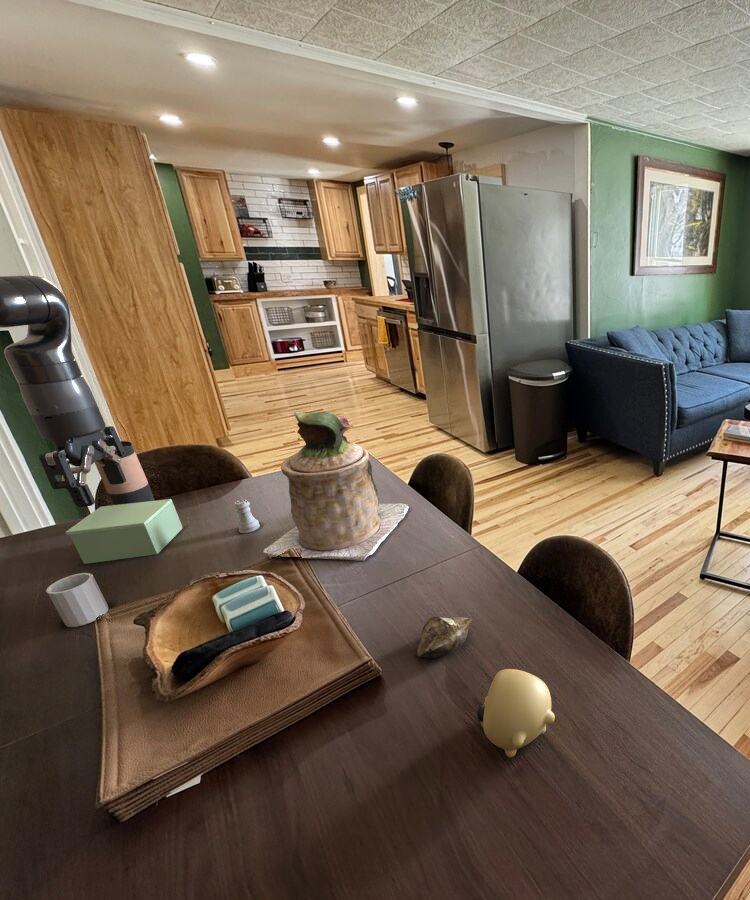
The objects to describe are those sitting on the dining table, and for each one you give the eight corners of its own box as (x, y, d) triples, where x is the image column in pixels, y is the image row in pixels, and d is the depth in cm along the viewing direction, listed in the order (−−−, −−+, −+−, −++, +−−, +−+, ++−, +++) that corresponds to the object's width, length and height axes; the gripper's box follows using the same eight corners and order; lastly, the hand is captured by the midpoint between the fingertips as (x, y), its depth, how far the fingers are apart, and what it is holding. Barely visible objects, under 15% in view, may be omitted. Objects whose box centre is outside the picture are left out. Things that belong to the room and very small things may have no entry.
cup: (57, 631, 87) (37, 596, 84) (79, 609, 92) (61, 575, 89) (96, 624, 88) (78, 590, 85) (116, 603, 93) (100, 570, 90)
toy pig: (542, 727, 73) (514, 661, 76) (575, 722, 64) (541, 647, 67) (485, 768, 67) (456, 694, 70) (512, 767, 58) (478, 684, 61)
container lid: (66, 535, 102) (64, 532, 102) (101, 509, 112) (100, 506, 112) (145, 525, 105) (143, 522, 105) (172, 501, 116) (171, 498, 115)
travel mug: (113, 522, 122) (80, 450, 114) (145, 507, 129) (116, 439, 121) (135, 526, 120) (103, 453, 112) (167, 511, 127) (139, 442, 119)
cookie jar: (369, 563, 106) (339, 430, 94) (261, 561, 106) (217, 428, 94) (412, 508, 129) (392, 395, 116) (323, 507, 129) (294, 394, 117)
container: (84, 565, 105) (69, 535, 102) (117, 537, 115) (104, 509, 112) (157, 555, 108) (145, 526, 105) (183, 529, 119) (172, 501, 116)
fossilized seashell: (426, 666, 77) (482, 643, 83) (419, 624, 77) (475, 606, 84) (411, 662, 82) (465, 641, 89) (404, 623, 83) (458, 606, 90)
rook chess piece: (262, 523, 121) (254, 496, 118) (258, 532, 117) (249, 504, 114) (242, 526, 120) (232, 499, 117) (236, 535, 116) (227, 507, 113)
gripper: (66, 396, 82) (103, 479, 89) (-4, 422, 70) (45, 517, 76) (119, 392, 84) (151, 474, 91) (60, 417, 72) (103, 510, 78)
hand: (103, 494), depth 83 cm, fingers open, 8 cm apart
